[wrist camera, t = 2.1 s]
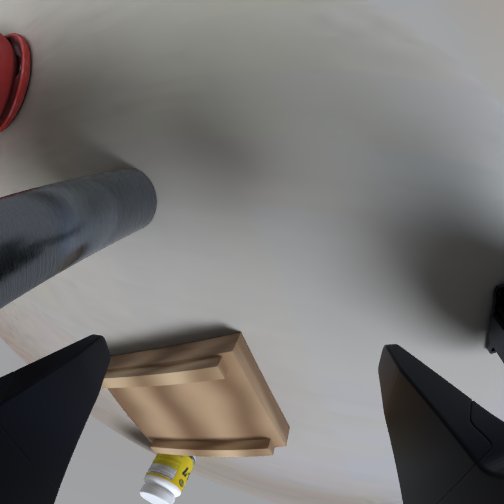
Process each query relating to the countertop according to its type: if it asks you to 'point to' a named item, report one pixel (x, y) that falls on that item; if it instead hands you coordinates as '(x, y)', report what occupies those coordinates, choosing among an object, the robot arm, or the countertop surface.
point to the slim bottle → (67, 225)
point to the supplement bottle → (166, 478)
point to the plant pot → (12, 76)
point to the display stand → (199, 399)
